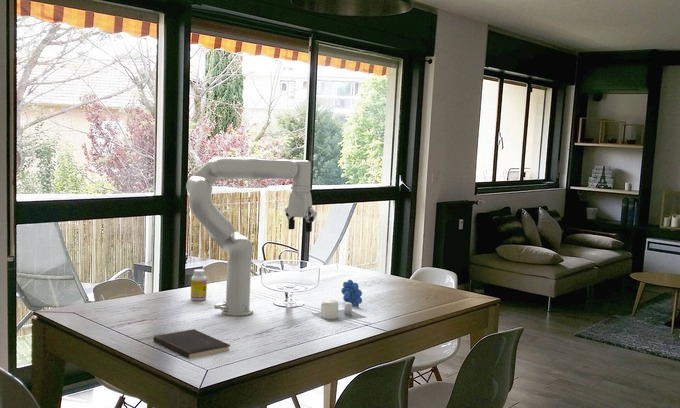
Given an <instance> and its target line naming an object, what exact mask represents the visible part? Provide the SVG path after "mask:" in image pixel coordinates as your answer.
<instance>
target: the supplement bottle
mask: <svg viewBox="0 0 680 408" xmlns="http://www.w3.org/2000/svg"><path fill="white" fill-rule="evenodd" d="M205 272H206V270H205V269H199V268H198V269H194V270H193V274H194V275H192V276H191V279H190V283H191V284H190V300H192V301H199V302H201V301H205V300H207V289H208V288H207V287H208V283H207V282H208V278H207V276H206V275H205V274H206V273H205Z"/></svg>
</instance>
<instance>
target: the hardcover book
mask: <svg viewBox="0 0 680 408" xmlns="http://www.w3.org/2000/svg"><path fill="white" fill-rule="evenodd" d="M153 342H155V343H156V344H159V345H160V346H162V347H164V348H166V349H169V350H170V351H173V353H176V354H179V355H180V356H182V357H183V358H186V359H194V358H196V357H197V358H198V357H203V356H207V355H211V354H217V353H221V352H225V351H230V347H231V345H230V344H229V343H226V342H224V341H222V340H220V339H217V338H215V337H213V336H210V335H208V334H206V333H204V332H201V331H199V330H197V329H195V328H193V329H188V330H182V331H175V332H169V333H164V334H159V335H155V336H154V337H153Z"/></svg>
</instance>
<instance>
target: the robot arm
mask: <svg viewBox="0 0 680 408" xmlns="http://www.w3.org/2000/svg"><path fill="white" fill-rule="evenodd" d="M311 164H312V163H311V161H309V160H306V159H305V160H304V159H295V160H292V159H286V158H285V159H284V158H280V159H264V158H263V159H262V158H258V157H226V156H225V157H223V156H222V157H221V156H214V157H212V158H211V159H209V160H208V161H207V162H206V163H205V164H203V166H201V168H199V169H198V170H197V171H196V172H195V173H193V174H192V176H191V177H189V178H188V180H187V181H186V185H185V189H186V191H187V193H188V194H189V197H188V198H189V199H188V201H189V203H188V204H189V209H190V211H191V212H192V215H194V217H195V218H196V220H197V221H199V222H200V223H201V225H202V226H203V227H204V228H205V229H204V230H205V231H206V233H207V234H208V235H209V237H210V238H211V239H212V240H213V241H214V242H215V243H216V244H217V245H218V246H219V247H220V248H221V249H222V250H223V251H224V252H225V253H227V254H228V260H227V265H226V266H227V269H226V291H225V294H226V295H225V300H223V302H222V303H217V304H216V303H215V304H214V305H213V306H214V309H215V310H220V311H221V313H222V314H224V315H226V316H233V317H236V316H237V317H243V316H249V315H251V314H253V313H254V309H253V308H252V307H250V304H251V303H250V301H251V299H250V298H251V280H252V279H251V275H252V273H251V272H252V271H251V270H252V261H253V260H252V259H253V255H254V254H253V253H254V247H253V246H254V245H253V244H252V241H251V240H250V239H249V238H248V237H247V236H245V235H243V234H241V233H240V232H239V231H238V230H237V229H236V228H235V227H234V225H233V223H232V222H231V220H230V219H229V218H228V217H226V216H225V215H224V213H222V212H221V211H220V210H219V209H218V208H217V206H216V205H214V203H213V201H212V198H211V197H212V192H213V186H214V185H215V184H216V183H217V182H218V181H219V180H237V179H238V180H241V179H242V180H246V179H247V180H261V179H262V180H263V179H265V180H266V179H269V180H270V179H271V180H272V179H273V180H275V179H276V180H281V179H282V180H285V179H286V180H288V179H292V180H291V181H292V183H291V184H292V185H291V187H290V189H291V192H290V194H289V197H288V205H287V207H286V208H284V212H285V217H286V218H287V221H288V229H287V230H295V227H296V225H295V224H296V222H295V221H296V220H295V218H304V219H305V221H306V222H305V232H306V233H311V232H312V231H313V222H314V221H315V220H316V217H317V215H318V212H317V211H316V210H315V209H313V199H312V194H311V176H312V175H311V171H312V170H311V167H312V165H311Z"/></svg>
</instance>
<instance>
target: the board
mask: <svg viewBox="0 0 680 408" xmlns="http://www.w3.org/2000/svg"><path fill="white" fill-rule="evenodd" d="M352 310H353V305H352V303H348V302H345V303H344V309H338V317H337V318H333V319H329V318H323V317H321V311H319V312H312V313H310V315H313V316H316V317H317V318H320V319H322V320H324V321H326V322H329V323H332V322H340V321H341V322H342V321H348V320H357V319H364V318H367V316H365V315H362V314H360V313H358V312H354V311H352Z"/></svg>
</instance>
